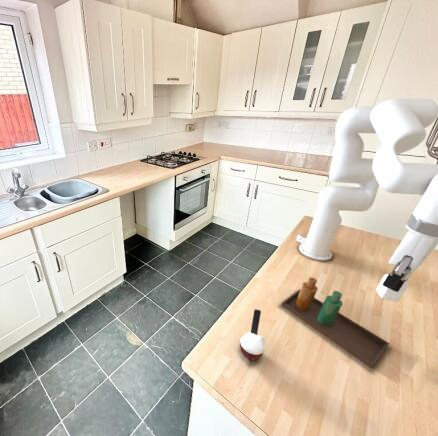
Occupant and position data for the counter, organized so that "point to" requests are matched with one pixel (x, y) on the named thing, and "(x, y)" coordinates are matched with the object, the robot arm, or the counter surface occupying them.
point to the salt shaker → (390, 294)
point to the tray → (341, 332)
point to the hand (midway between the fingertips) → (394, 283)
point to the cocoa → (253, 340)
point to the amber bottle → (306, 294)
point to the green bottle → (330, 309)
